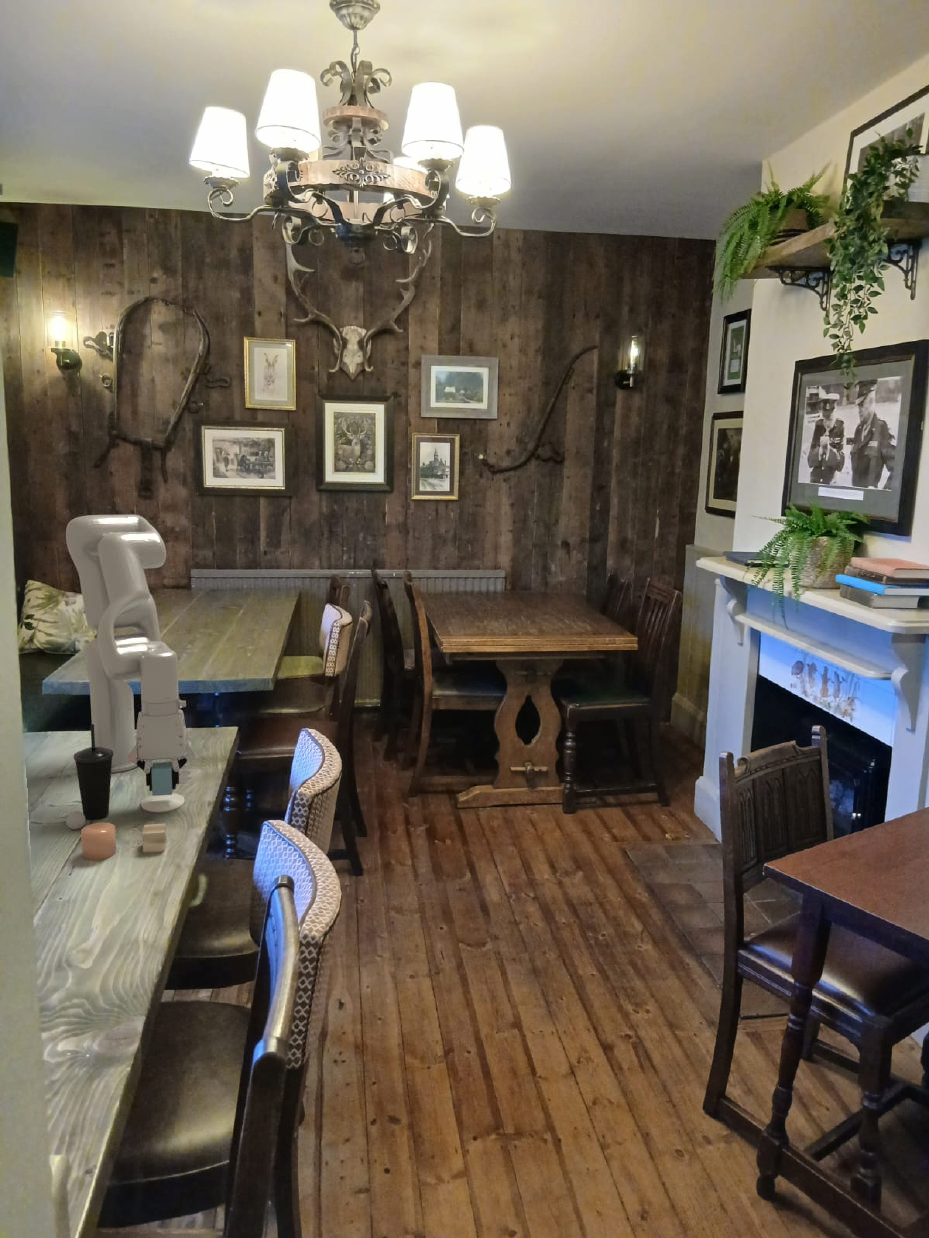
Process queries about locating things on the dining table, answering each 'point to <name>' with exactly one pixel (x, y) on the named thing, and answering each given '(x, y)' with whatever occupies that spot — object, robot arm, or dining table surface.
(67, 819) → the grey ball
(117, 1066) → the dining table surface
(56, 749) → the dining table surface
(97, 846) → the peach cylinder
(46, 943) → the dining table surface
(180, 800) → the cream shiny round part
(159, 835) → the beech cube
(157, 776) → the teal block
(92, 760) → the drinking cup
